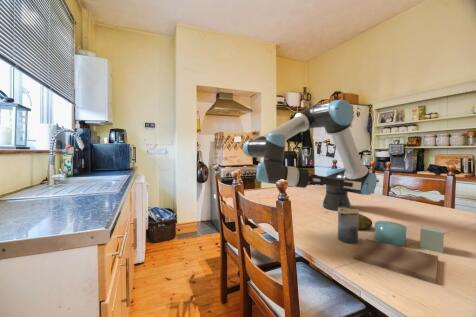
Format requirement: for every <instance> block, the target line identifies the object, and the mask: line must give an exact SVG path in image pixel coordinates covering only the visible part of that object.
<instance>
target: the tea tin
mask: <svg viewBox="0 0 476 317" xmlns="http://www.w3.org/2000/svg"><path fill="white" fill-rule="evenodd" d="M359 211H360V210H359V208H357V207H353V206H351V207H347V206H341V207H338V211H337V239H338V241H340V242H342V243H344V244H347V245H348V244H349V245H350V244H351V245H353V244H354V245H355V244H358V243H359V229H358V214H360V213H359Z"/></svg>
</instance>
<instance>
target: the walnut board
mask: <svg viewBox="0 0 476 317" xmlns="http://www.w3.org/2000/svg"><path fill="white" fill-rule="evenodd" d="M352 258H353V259H354V260H357V261H361V262H362V263H363V262H364V263H367V264H370V265H373V266H376V267H379V268H382V269H383V268H384V269H386V270H389V271H391V272H395V273H398V274H402V275H405V276H409V277H412V278H415V279H419V280H421V281H423V282H424V281H425V282H428V283H431V284H435V285H437V284H436V283H437V276H438V268H439V267H438V265H439V255H435V254H431V253H426V252H422V251H419V250H414V249H410V248H406V247H404V246H394V245H390V244H386V243H382V242H378V241H376V240H375V239H374V240H373V239H369V238H366V239H365V240H363V242H362V243H361V244H360V245H359V247H358V248H357V249H356V250H355V251H354V252H353V253H352Z"/></svg>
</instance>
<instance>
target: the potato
mask: <svg viewBox="0 0 476 317" xmlns="http://www.w3.org/2000/svg"><path fill="white" fill-rule="evenodd" d="M372 227H373V221H372V220H371V218H369V217H367V216H366V215H363V214H361V213H359V214H358V230H367V229H370V228H372Z"/></svg>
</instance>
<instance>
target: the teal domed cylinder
mask: <svg viewBox="0 0 476 317" xmlns="http://www.w3.org/2000/svg"><path fill="white" fill-rule="evenodd" d="M374 241H378V242H382V243H386V244H390V245H394V246H399V247H404V246H406V245H407V226H405V225H404V224H401V223H398V222H394V221H388V220H385V221H384V220H380V221H379V220H377V221H375V222H374Z"/></svg>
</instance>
